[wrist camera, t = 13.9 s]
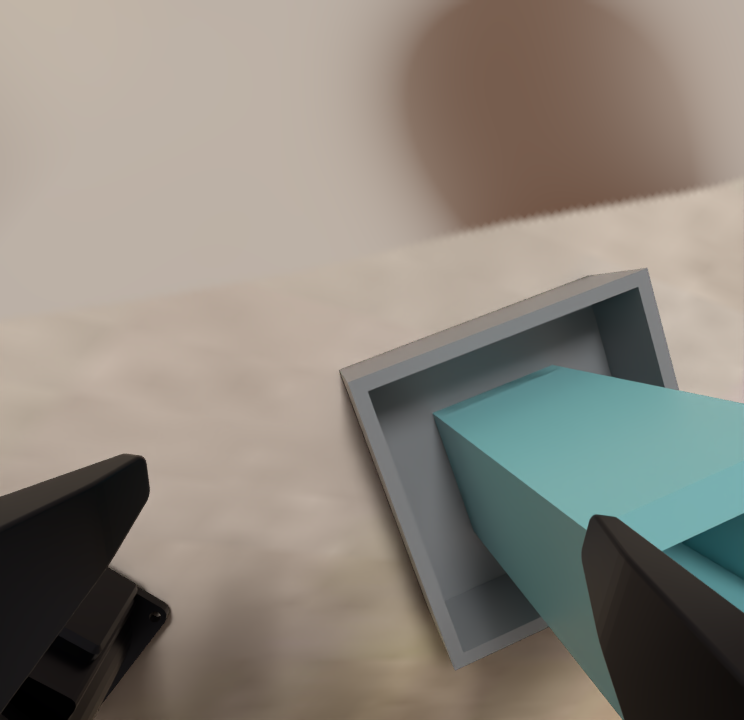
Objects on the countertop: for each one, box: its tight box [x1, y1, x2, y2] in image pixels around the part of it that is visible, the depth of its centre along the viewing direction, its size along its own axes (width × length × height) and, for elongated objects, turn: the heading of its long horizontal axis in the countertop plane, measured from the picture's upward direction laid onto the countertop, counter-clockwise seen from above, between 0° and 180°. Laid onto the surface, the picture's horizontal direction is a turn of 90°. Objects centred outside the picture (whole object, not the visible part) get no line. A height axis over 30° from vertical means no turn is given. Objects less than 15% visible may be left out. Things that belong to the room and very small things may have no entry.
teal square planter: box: [432, 365, 744, 720], centre depth 17 cm, size 6×6×12 cm
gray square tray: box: [339, 268, 679, 670], centre depth 21 cm, size 13×13×4 cm
